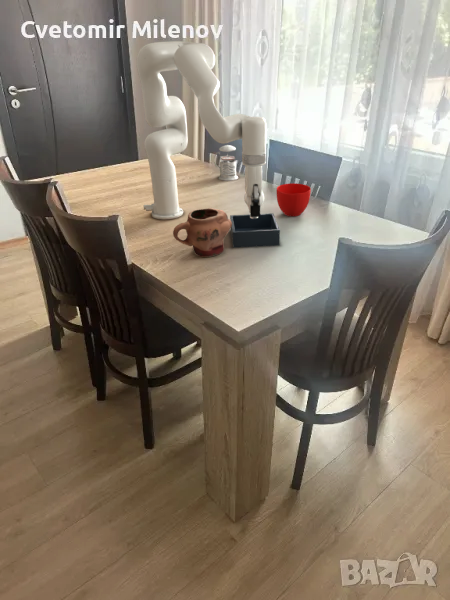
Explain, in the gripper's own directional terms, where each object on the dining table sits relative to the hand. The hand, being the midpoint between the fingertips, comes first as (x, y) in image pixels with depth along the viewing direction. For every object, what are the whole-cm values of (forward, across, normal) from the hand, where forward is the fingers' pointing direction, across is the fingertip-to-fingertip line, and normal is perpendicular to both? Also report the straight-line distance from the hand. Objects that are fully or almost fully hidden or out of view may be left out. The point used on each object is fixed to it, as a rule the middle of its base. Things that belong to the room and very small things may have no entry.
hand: (254, 212), depth 150 cm
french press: (+9, -74, -6) cm, 75 cm away
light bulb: (+3, 0, 0) cm, 3 cm away
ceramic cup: (+9, -23, +18) cm, 31 cm away
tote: (+9, 0, 0) cm, 9 cm away
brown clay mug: (+9, +11, -18) cm, 23 cm away
